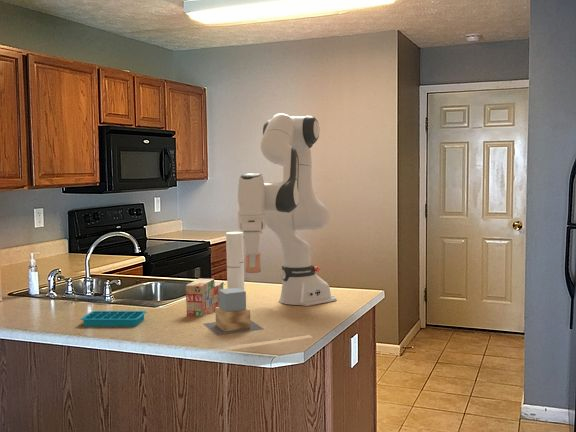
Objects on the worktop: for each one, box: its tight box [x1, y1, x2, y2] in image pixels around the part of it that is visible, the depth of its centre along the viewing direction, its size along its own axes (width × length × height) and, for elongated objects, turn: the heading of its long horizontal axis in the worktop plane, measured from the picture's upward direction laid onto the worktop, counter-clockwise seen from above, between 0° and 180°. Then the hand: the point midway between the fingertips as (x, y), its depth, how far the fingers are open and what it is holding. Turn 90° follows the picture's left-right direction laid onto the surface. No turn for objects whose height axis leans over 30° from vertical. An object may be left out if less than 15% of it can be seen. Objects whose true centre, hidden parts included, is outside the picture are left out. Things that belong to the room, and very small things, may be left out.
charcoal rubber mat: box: [203, 319, 265, 337], centre depth 210 cm, size 16×16×1 cm
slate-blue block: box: [219, 288, 247, 312], centre depth 210 cm, size 7×7×6 cm
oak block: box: [214, 307, 251, 331], centre depth 210 cm, size 9×9×6 cm
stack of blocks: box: [185, 277, 224, 318], centre depth 235 cm, size 21×6×12 cm, turn 165°
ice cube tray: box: [80, 310, 147, 327], centre depth 222 cm, size 12×20×3 cm, turn 86°
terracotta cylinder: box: [244, 252, 262, 274], centre depth 208 cm, size 5×5×6 cm
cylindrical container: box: [225, 231, 245, 291], centre depth 270 cm, size 7×7×25 cm
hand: (252, 265), depth 208 cm, fingers closed on terracotta cylinder, 5 cm apart
